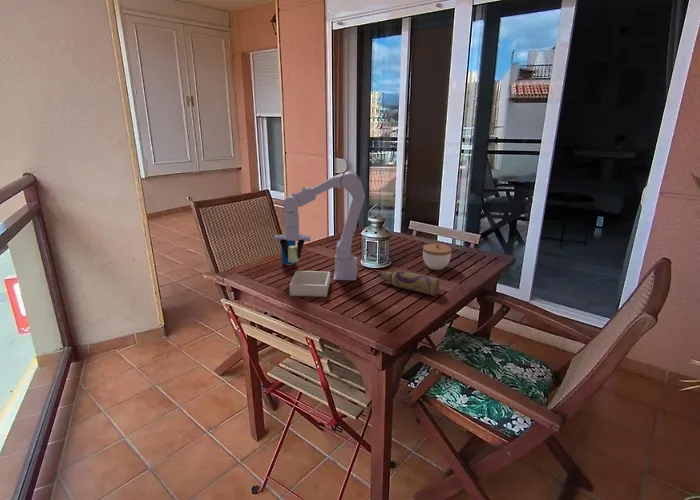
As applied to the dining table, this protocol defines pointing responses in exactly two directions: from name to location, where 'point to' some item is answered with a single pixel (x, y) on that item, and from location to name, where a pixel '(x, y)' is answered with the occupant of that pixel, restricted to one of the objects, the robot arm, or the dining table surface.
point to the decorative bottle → (412, 281)
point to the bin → (310, 283)
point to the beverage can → (284, 259)
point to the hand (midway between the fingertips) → (293, 257)
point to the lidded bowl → (436, 255)
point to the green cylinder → (293, 254)
